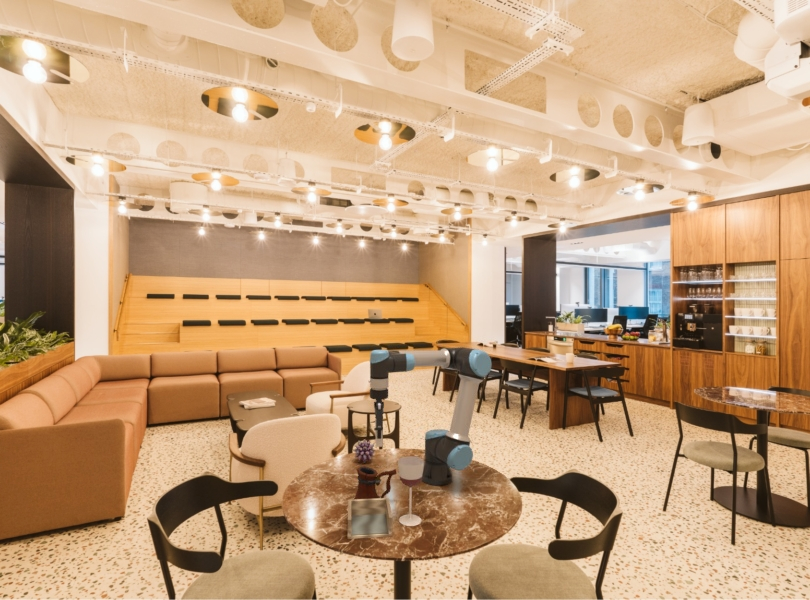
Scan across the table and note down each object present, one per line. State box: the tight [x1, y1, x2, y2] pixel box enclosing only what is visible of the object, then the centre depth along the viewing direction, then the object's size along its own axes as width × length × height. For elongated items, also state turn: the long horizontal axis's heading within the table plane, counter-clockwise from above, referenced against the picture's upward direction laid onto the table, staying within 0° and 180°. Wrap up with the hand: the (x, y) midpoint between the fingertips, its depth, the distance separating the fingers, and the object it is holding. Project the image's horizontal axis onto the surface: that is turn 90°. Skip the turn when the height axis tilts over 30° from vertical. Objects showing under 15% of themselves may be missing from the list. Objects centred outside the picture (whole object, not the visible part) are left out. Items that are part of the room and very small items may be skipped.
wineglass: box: [397, 455, 425, 527], centre depth 159 cm, size 9×10×23 cm
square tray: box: [347, 497, 394, 540], centre depth 154 cm, size 16×15×7 cm
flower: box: [353, 438, 376, 463], centre depth 217 cm, size 12×12×12 cm
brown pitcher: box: [352, 465, 397, 500], centre depth 172 cm, size 18×12×15 cm, turn 94°
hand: (378, 440), depth 167 cm, fingers open, 13 cm apart
